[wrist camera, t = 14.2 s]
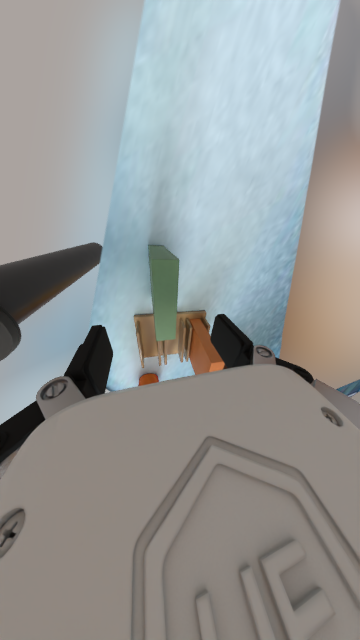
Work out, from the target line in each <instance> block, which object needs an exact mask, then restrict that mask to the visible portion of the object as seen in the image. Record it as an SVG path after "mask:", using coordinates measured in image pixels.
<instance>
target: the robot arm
mask: <svg viewBox="0 0 360 640" xmlns="http://www.w3.org/2000/svg"><path fill="white" fill-rule="evenodd" d="M210 340H211V343H212V344H213V346H214V347H215V349H216V351H217V352H218V354H219V355H220V357H221V359H222V360H223V362H224V363H225V365H226V366H227V368H228V369H223V370H218V371H213V372H208V373H202V374H197V375H192V376H187V377H182V378H177V379H172V380H167V381H162V382H157V383H152V384H147V385H142V386H137V387H132V388H127V389H123V390H118V391H113V392H109V393H105V389H106V385H107V380H108V376H109V371H110V367H111V362H112V357H113V350H112V347H111V344H110V341H109V338H108V335H107V332H106V329H105V327H102V325H95V326H92V327H91V329H90V331H89V333H88V335H87V337H86V339H85V341H84V343H83V344H81V345H80V346H79V348H78V350H77V351H76V353H75V355H74V357H73V359H72V361H71V363H70V365H69V367H68V368H67V371H66V372H65V374H64V376H63V377H57V378H54V379H52V380H50V381H49V382H47V383H46V384H45V385H44V386H42V387H41V389H40V390H39V391H38V392H37V395H36V401H35V402H33V403H32V404H30V405H29V406H27V407H26V408H24V409H23V410H22V411H20V412H19V413H17V414H16V415H14V416H13V417H11V418H10V419H8V420H7V421H6V422H4V423H3V424H1V425H0V640H360V404H359V403H358V402H356V401H355V400H353V399H352V398H350V397H348V396H346V395H344V394H343V393H341V392H339V391H337V390H335V389H334V388H332V387H330V386H328V385H326V384H325V383H323V382H321V381H319V380H317V379H316V380H314V379H313V377H312V375H311V374H310V373H309V372H308V371H306V370H305V369H303V368H301V367H299V366H297V365H294V364H291V363H289V362H286V361H283V360H281V359H278V358H276V357H275V355H274V353H273V351H272V350H270V349H269V348H267V347H265V346H262V345H256V346H253V342H252V341H251V340H250V339H249V338H248V337H247V336H246V335H245V334H244V333H243V332H242V331H241V330H240V329H239V328H238V327H237V326H236V325H235V324H234V323H233V322H232V321H231V320H230V319H229V318H228V317H227V316H226V315H225V314H218V315H217V316H216V317H215V321H214V325H213V329H212V333H211V338H210Z"/></svg>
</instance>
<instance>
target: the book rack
mask: <svg viewBox="0 0 360 640" xmlns="http://www.w3.org/2000/svg"><path fill="white" fill-rule="evenodd" d="M205 317H206V311H190V312H177V318H176V339H173V340H164V341H156V334H155V324H154V314H145V315H134V321H135V327H136V336H137V342H138V348H139V353H140V359H141V365H142V368H144V358H146V357H154V356H158V359H159V366H160V365H161V355H163V356H164V362H165V365H167V355H169V354H176V353H178V354H179V357H180V361H181V362H183V354H184V356H185V359H186V362H187V361H188V357H189V350H190V342H191V334H192V326H191V324H190V322H189V320H190V319H198V318H200V320H201V321H202V323H203V325H204V326H205V328H206V330H207V331H208V333H209V330H210V325H209V323H208V322H207V320H206V319H205Z"/></svg>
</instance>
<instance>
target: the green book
mask: <svg viewBox="0 0 360 640" xmlns="http://www.w3.org/2000/svg"><path fill="white" fill-rule="evenodd" d="M148 249H149V263H150V277H151V292H152V304H153V314H154V324H155V334H156V341H164V340H173V339H176V318H177V296H178V275H179V259H178V258H177V257H175V256H174V255H173V254H172V253H171V252H170V251H169V250H168V249H166V248H165V247H164V246H156V245H148Z"/></svg>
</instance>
